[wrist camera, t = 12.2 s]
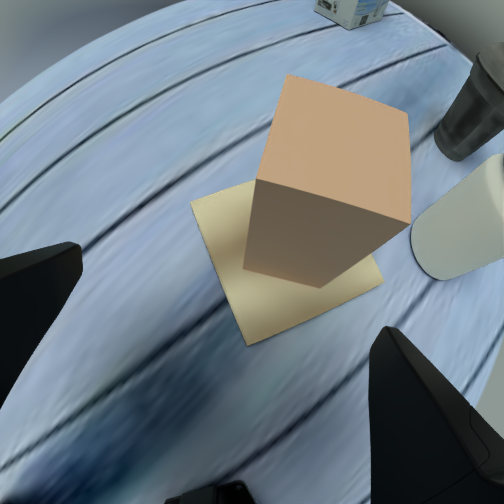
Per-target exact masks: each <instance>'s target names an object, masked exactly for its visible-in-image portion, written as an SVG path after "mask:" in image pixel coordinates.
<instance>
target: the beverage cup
mask: <svg viewBox="0 0 504 504" xmlns="http://www.w3.org/2000/svg"><path fill="white" fill-rule="evenodd" d="M503 129H504V43H503V42H501V43H493V44H491V45H489V46H487V47H486V48H484V49H483V50H482V52H480V53H478V54H477V56H476V61H475V62H474V64H473V66H472V69H471V71H470V76H469V77H468V79H467V81H466V82H465V84H464V86H463V87H462V89H461V91H460V92H459V94H458V95H457V97H456V99H455V100H454V102H453V103H452V105H451V107H450V108H449V110H448V111H447V113H446V114H445V116H444V118H443V119H442V121H441V122H440V125H439V126H438V128H437V130H436V131H435V132H434V138H435V142H436V144H437V146H438V148H439V149H440V150H441V152H442V153H443V154H444V155H445V156H447V157H448V158H450V159H451V160H454V161H461V160H463V159H464V158H465V157H467V156H469V155H471V154H472V153H473V152H475V151H476V150H477V149H479V148H480V147H481V146H483V145H484V144H485V143H487V142H488V141H489V140H490V139H492V138H493V137H494V136H496V135H497V134H498V133H500V132H501V131H502V130H503Z"/></svg>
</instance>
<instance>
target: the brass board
mask: <svg viewBox="0 0 504 504" xmlns="http://www.w3.org/2000/svg"><path fill="white" fill-rule="evenodd" d="M255 181H256V179H255V180H252V181H249V182H246V183H243V184H240V185H237V186H234V187H231V188H228V189H225V190H222V191H219V192H217V193H214V194H211V195H208V196H205V197H202V198H200V199H197V200H194V201H191V202H190V204H191V208H192V211H193V213H194V216H195V219H196V221H197V224H198V226H199V229H200V232H201V234H202V237H203V239H204V242H205V245H206V247H207V250H208V252H209V255H210V257H211V260H212V263H213V265H214V268H215V270H216V273H217V275H218V278H219V280H220V283H221V285H222V288H223V290H224V292H225V295H226V297H227V300H228V302H229V305H230V307H231V310H232V312H233V314H234V317H235V319H236V322H237V324H238V326H239V329H240V331H241V333H242V336H243V338H244V340H245V343H246V345H247V346H249V345H252V344H254V343H256V342H259V341H261V340H264V339H266V338H268V337H271V336H273V335H275V334H278V333H280V332H282V331H284V330H287V329H289V328H291V327H293V326H296V325H298V324H300V323H302V322H305V321H307V320H309V319H311V318H313V317H315V316H318V315H320V314H322V313H324V312H326V311H328V310H330V309H332V308H334V307H336V306H338V305H341V304H343V303H345V302H347V301H349V300H351V299H353V298H355V297H357V296H359V295H361V294H363V293H365V292H367V291H369V290H370V289H372V288H374V287H376V286H378V285H380V284H382V283H384V279H383V277H382V275H381V273H380V271H379V269H378V266H377V264H376V262H375V260H374V258H373V256H372V254H369V255H368V256H367V257H365V258H364V259H362V260H361V261H359V262H358V263H357V264H355V265H354V266H352V267H351V268H349V269H348V270H347V271H345V272H344V273H342V274H341V275H339V276H338V277H336V278H335V279H333V280H332V281H330V282H329V283H328V284H326V285H325V286H323V287H322V288H320V289H319V288H315V287H311V286H307V285H303V284H299V283H295V282H291V281H287V280H283V279H280V278H276V277H272V276H268V275H264V274H260V273H256V272H252V271H248V270H244V269H243V262H244V255H245V248H246V242H247V235H248V228H249V221H250V215H251V208H252V201H253V195H254V188H255Z"/></svg>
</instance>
